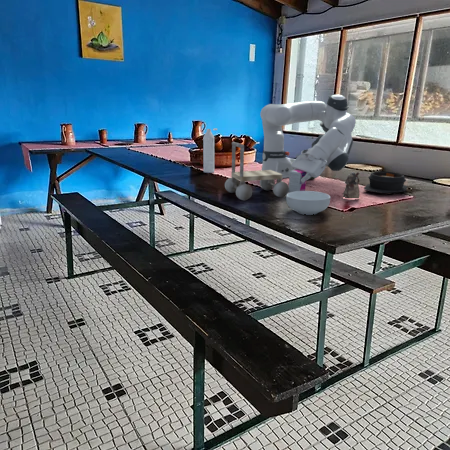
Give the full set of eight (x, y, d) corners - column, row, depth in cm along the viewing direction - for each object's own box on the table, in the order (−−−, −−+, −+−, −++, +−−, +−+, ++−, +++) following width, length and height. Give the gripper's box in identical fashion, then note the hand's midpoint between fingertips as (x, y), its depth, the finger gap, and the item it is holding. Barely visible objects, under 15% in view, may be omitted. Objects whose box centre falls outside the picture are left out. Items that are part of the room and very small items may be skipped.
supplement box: (298, 197, 183) (300, 172, 180) (287, 195, 187) (289, 170, 184) (305, 195, 187) (307, 171, 184) (294, 193, 191) (296, 169, 188)
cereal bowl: (322, 206, 169) (324, 190, 167) (334, 218, 154) (336, 200, 151) (282, 206, 169) (283, 190, 167) (289, 218, 153) (290, 200, 151)
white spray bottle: (206, 173, 237) (206, 129, 230) (201, 171, 243) (201, 128, 235) (219, 172, 241) (219, 128, 234) (214, 170, 247) (214, 128, 239)
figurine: (340, 196, 186) (343, 170, 182) (356, 196, 186) (359, 170, 182) (344, 200, 179) (347, 173, 176) (360, 200, 179) (364, 173, 175)
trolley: (272, 189, 200) (274, 139, 192) (288, 196, 185) (291, 143, 178) (224, 192, 192) (224, 141, 184) (237, 201, 177) (238, 145, 170)
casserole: (381, 184, 211) (383, 168, 209) (416, 191, 198) (419, 174, 195) (353, 191, 196) (355, 174, 194) (389, 199, 182) (392, 180, 180)
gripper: (333, 165, 177) (311, 189, 177) (308, 158, 195) (289, 179, 195) (325, 155, 174) (303, 179, 174) (301, 149, 192) (281, 171, 192)
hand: (295, 179), depth 185 cm, fingers open, 8 cm apart
